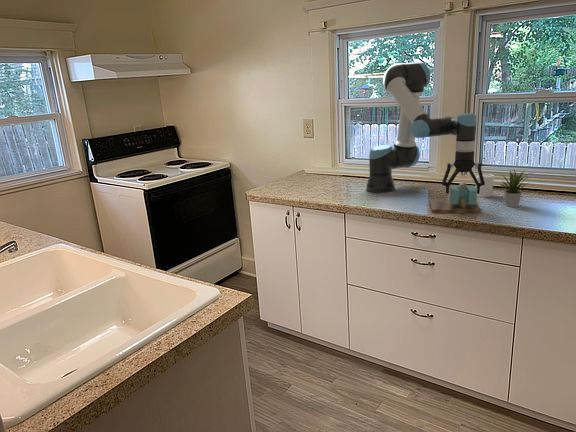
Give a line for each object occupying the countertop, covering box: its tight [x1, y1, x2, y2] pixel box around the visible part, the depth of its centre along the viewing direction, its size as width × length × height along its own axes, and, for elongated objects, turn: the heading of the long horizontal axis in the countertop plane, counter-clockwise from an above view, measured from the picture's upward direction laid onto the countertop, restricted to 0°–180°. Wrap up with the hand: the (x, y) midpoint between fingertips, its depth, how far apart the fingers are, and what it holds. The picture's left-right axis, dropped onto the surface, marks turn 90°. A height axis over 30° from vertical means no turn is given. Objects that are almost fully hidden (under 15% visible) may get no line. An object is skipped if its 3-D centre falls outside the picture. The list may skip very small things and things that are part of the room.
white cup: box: [475, 173, 495, 198], centre depth 211 cm, size 8×8×10 cm
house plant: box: [498, 169, 534, 208], centre depth 191 cm, size 14×14×16 cm
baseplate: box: [429, 182, 482, 214], centre depth 192 cm, size 20×13×12 cm, turn 76°
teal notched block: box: [450, 184, 477, 204], centre depth 191 cm, size 10×10×6 cm
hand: (461, 200), depth 192 cm, fingers closed on teal notched block, 10 cm apart
